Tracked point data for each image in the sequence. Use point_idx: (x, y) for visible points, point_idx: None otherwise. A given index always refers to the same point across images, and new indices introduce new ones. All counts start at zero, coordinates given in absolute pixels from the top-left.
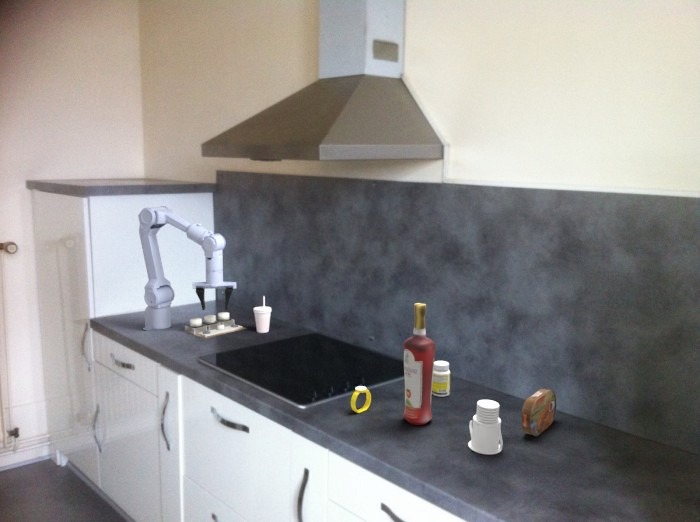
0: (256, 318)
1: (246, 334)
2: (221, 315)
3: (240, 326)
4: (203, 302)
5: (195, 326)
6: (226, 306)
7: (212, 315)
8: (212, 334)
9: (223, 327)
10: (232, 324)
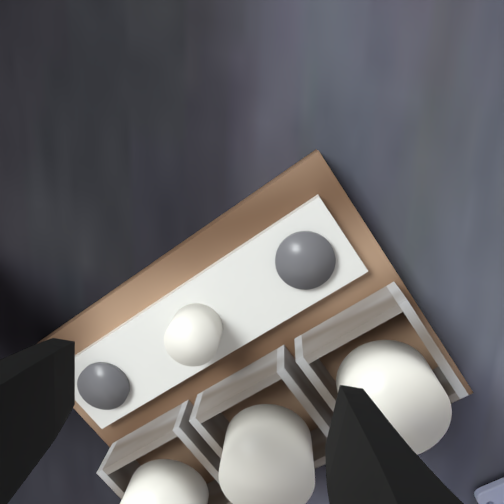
0: None
1: (44, 295)
2: (174, 497)
3: None
4: (374, 452)
5: (392, 342)
6: (30, 351)
7: (244, 495)
8: (262, 231)
9: (173, 319)
10: (122, 441)
